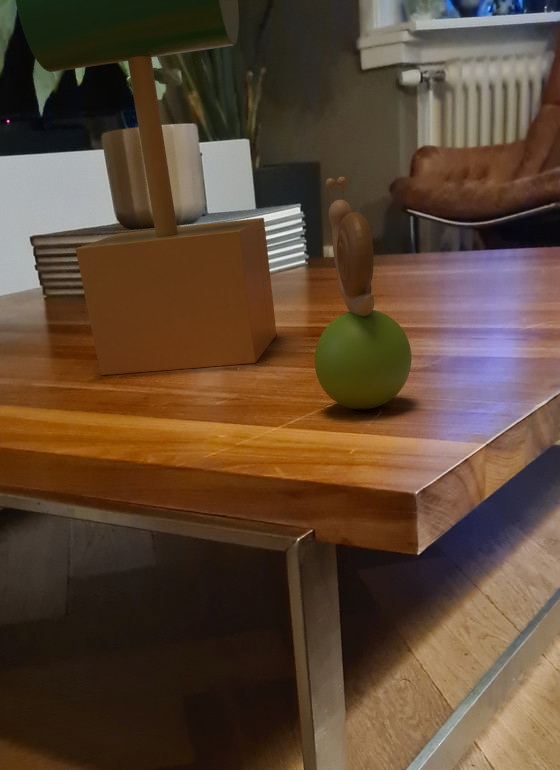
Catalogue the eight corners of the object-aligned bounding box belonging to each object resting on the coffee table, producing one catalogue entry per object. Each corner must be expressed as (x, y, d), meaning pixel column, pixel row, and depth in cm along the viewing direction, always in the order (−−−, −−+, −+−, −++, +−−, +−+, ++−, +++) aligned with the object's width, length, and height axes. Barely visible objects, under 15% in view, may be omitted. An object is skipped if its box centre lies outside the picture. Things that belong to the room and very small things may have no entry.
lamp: (261, 364, 66) (206, -99, 54) (92, 377, 69) (2, -62, 56) (282, 335, 75) (240, -67, 63) (132, 347, 78) (63, -37, 65)
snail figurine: (394, 386, 56) (382, 171, 51) (425, 411, 51) (416, 171, 45) (307, 400, 56) (286, 183, 50) (330, 426, 50) (308, 185, 45)
